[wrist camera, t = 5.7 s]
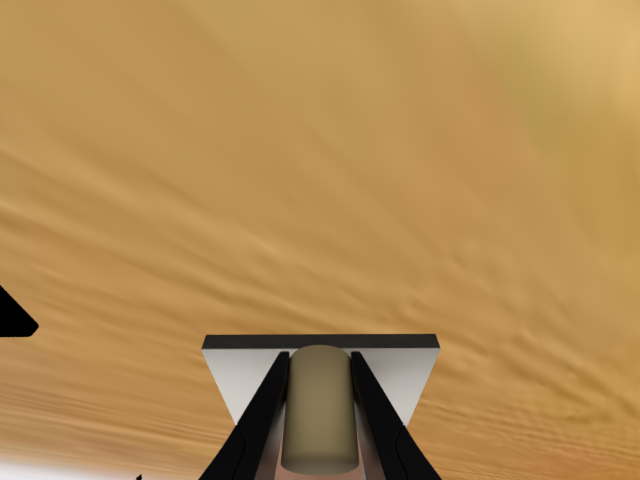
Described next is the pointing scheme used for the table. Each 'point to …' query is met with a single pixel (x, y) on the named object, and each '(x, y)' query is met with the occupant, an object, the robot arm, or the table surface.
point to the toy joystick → (319, 418)
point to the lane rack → (377, 349)
